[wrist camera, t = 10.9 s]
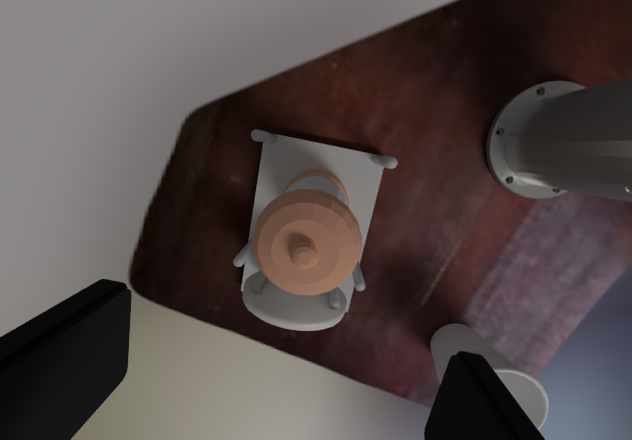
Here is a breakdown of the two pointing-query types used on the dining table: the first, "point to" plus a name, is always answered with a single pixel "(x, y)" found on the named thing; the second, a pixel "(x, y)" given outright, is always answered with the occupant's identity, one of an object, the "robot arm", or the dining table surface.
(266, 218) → the salt shaker
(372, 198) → the dish rack
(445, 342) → the cup
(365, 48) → the dining table surface
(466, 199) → the dining table surface
